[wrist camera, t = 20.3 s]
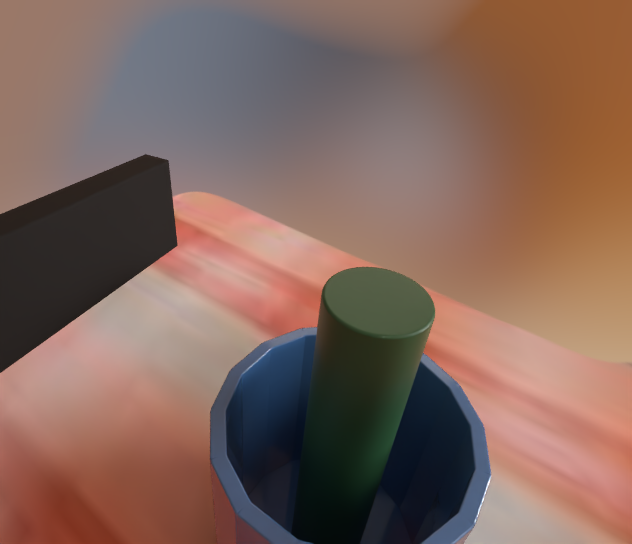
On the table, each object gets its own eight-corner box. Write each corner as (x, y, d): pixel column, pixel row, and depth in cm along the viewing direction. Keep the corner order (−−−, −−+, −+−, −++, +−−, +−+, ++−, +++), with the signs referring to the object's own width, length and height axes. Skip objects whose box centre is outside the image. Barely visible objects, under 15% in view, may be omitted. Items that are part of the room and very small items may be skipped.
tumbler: (341, 429, 25) (368, 302, 19) (462, 585, 19) (549, 463, 13) (190, 512, 20) (169, 376, 15) (285, 750, 14) (309, 667, 9)
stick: (331, 496, 21) (383, 256, 13) (370, 554, 19) (460, 313, 11) (278, 530, 19) (300, 282, 11) (314, 597, 17) (371, 354, 9)
